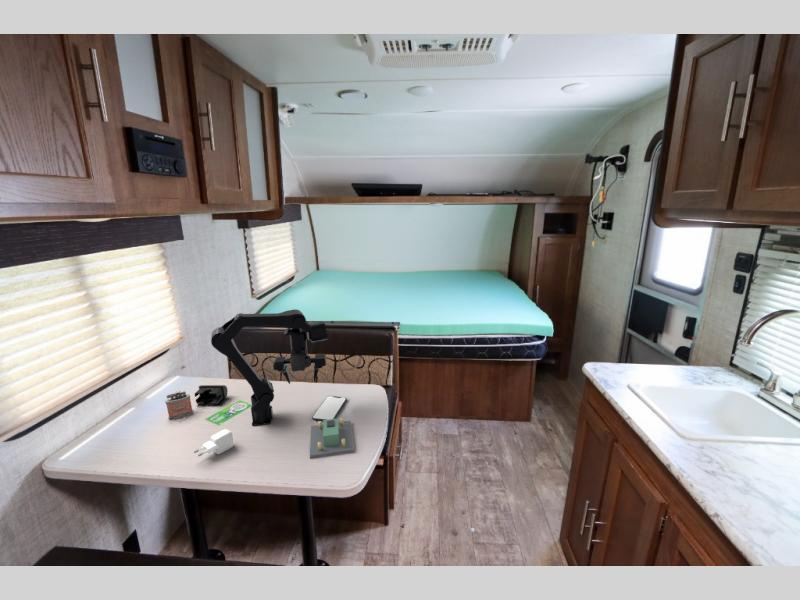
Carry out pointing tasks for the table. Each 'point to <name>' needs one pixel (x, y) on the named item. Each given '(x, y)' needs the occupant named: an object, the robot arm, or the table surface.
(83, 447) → the table surface
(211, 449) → the power adapter
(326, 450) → the chassis
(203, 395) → the end cap
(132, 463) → the table surface
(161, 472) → the table surface
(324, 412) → the smartphone
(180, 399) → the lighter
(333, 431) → the circuit board module
